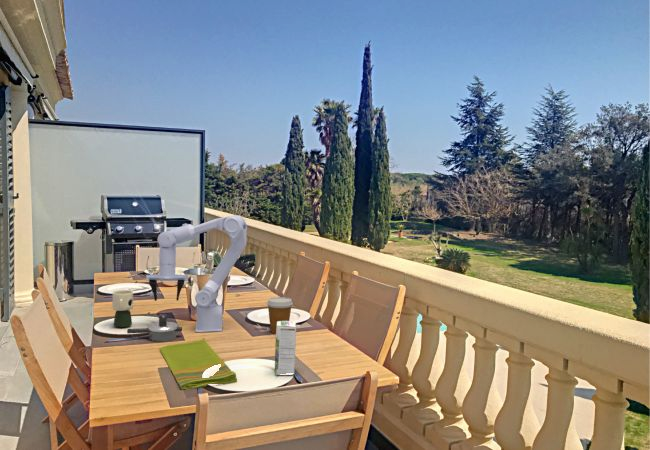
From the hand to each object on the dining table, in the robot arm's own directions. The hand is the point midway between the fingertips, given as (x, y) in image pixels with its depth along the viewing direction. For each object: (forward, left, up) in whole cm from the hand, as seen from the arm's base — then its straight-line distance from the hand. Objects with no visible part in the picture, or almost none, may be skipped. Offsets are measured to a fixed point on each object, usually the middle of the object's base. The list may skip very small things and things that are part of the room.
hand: (166, 300), depth 190 cm
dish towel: (-10, +41, -11) cm, 44 cm away
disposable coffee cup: (-40, +11, -11) cm, 43 cm away
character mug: (+16, -4, -11) cm, 19 cm away
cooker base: (+3, +12, -10) cm, 16 cm away
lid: (+1, +13, -8) cm, 15 cm away
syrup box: (-35, +52, -11) cm, 64 cm away
